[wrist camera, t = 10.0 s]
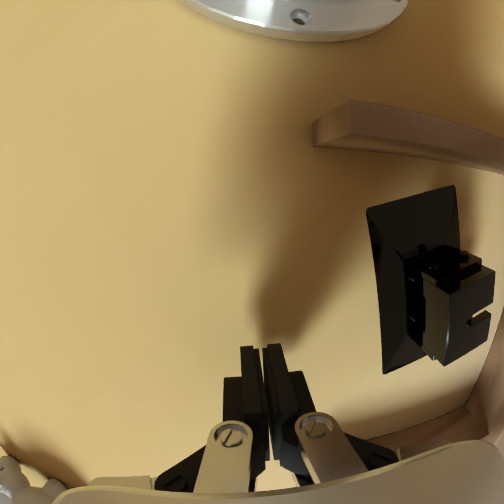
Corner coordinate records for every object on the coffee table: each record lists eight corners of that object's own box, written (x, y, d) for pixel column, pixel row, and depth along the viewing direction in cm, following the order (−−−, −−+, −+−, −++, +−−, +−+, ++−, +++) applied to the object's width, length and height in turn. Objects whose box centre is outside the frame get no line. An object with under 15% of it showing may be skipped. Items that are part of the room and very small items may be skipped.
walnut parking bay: (312, 123, 11) (363, 91, 6) (528, 167, 12) (582, 174, 7) (291, 461, 16) (304, 519, 11) (468, 410, 17) (496, 444, 12)
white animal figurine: (18, 428, 18) (-35, 455, 10) (99, 511, 16) (49, 554, 7) (23, 455, 19) (-21, 479, 11) (94, 524, 17) (53, 559, 9)
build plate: (456, 347, 15) (495, 384, 11) (363, 391, 15) (393, 444, 11) (452, 155, 12) (517, 158, 7) (333, 180, 12) (385, 187, 7)
